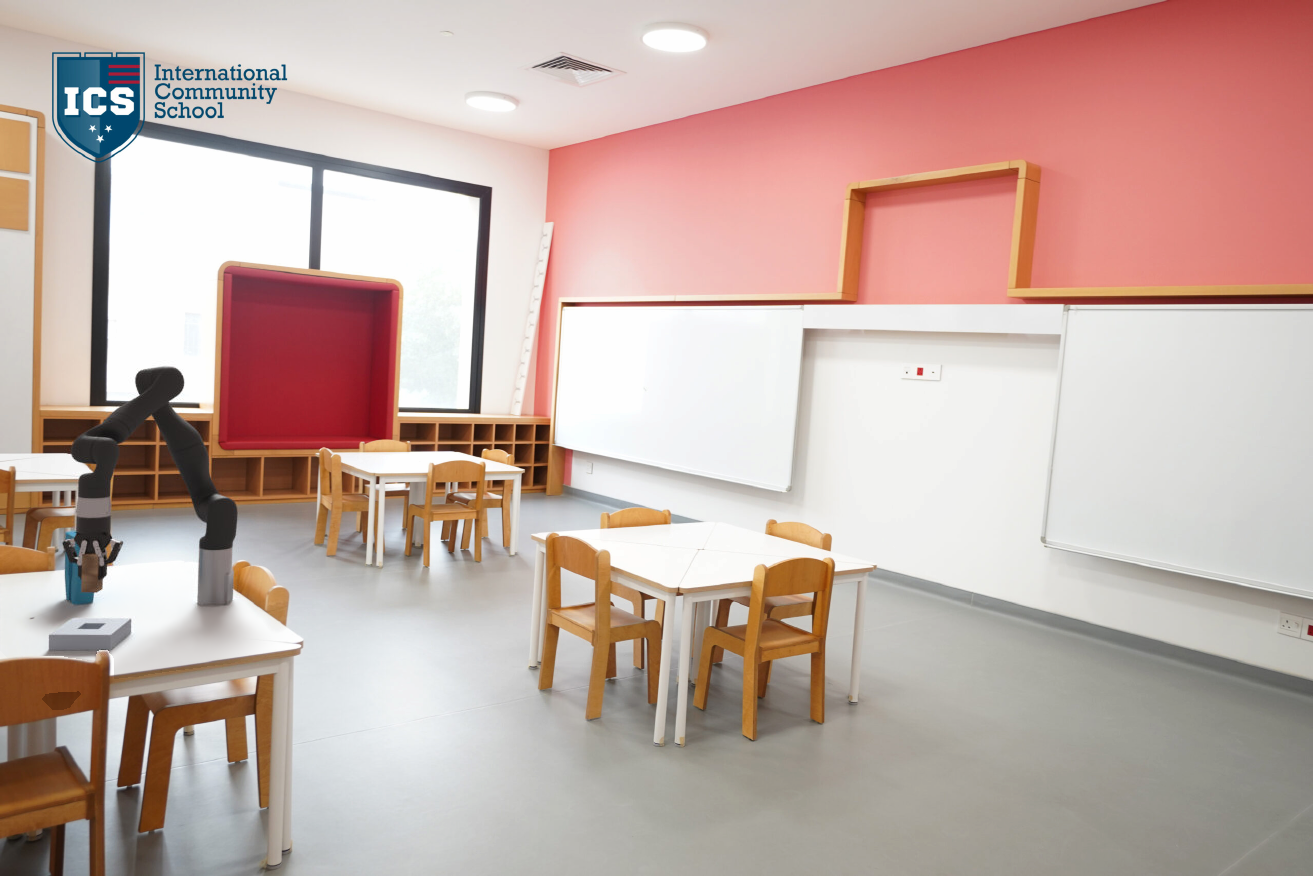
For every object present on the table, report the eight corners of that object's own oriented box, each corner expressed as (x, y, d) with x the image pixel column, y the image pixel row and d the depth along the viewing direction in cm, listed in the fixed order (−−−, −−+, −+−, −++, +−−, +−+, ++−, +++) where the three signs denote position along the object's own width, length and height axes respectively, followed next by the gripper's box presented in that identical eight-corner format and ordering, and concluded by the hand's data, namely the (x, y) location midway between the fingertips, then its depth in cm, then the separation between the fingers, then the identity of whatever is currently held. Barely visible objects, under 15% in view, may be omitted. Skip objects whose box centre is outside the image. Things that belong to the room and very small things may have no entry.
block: (96, 603, 256) (97, 537, 255) (76, 606, 253) (77, 539, 251) (82, 594, 264) (83, 530, 262) (63, 597, 260) (64, 531, 259)
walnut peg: (102, 588, 227) (103, 551, 226) (96, 592, 224) (97, 554, 223) (87, 588, 226) (88, 551, 226) (81, 592, 223) (82, 554, 222)
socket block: (131, 632, 235) (131, 618, 234) (110, 650, 221) (110, 634, 221) (73, 632, 231) (73, 617, 231) (48, 650, 218) (48, 634, 218)
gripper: (129, 512, 229) (127, 576, 230) (69, 510, 226) (68, 574, 227) (118, 517, 221) (116, 583, 223) (56, 515, 218) (54, 582, 220)
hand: (92, 578), depth 225 cm, fingers closed on walnut peg, 3 cm apart
